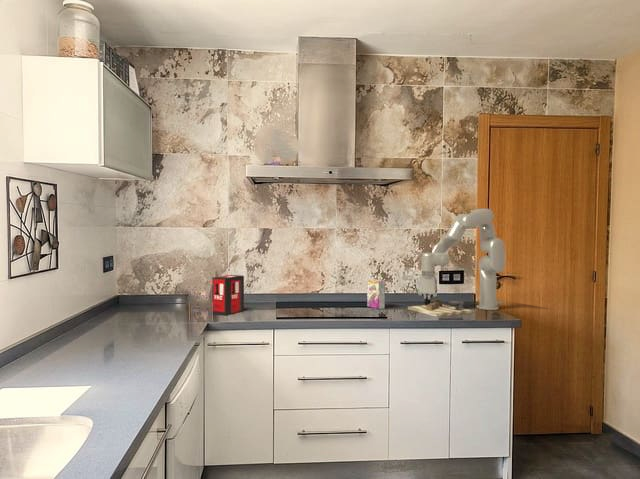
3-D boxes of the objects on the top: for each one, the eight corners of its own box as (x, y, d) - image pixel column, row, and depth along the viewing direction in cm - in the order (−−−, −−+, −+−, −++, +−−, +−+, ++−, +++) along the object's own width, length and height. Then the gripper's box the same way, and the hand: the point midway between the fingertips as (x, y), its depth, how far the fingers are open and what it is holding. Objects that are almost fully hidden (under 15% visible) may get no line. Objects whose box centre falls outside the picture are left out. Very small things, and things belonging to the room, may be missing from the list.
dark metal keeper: (458, 308, 284) (458, 300, 284) (463, 309, 280) (464, 301, 280) (447, 309, 280) (447, 301, 280) (452, 310, 276) (452, 302, 276)
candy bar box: (366, 306, 296) (366, 279, 296) (372, 306, 299) (373, 279, 299) (378, 309, 287) (379, 281, 286) (385, 308, 290) (385, 280, 289)
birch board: (441, 306, 301) (441, 303, 301) (472, 312, 279) (472, 310, 279) (407, 309, 289) (407, 306, 288) (436, 316, 266) (436, 313, 266)
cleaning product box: (225, 315, 262) (225, 278, 261) (212, 314, 266) (212, 277, 265) (243, 311, 277) (243, 275, 276) (230, 309, 280) (230, 274, 280)
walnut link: (435, 304, 297) (435, 298, 297) (443, 305, 294) (443, 298, 294) (424, 309, 279) (424, 302, 279) (433, 310, 277) (433, 303, 276)
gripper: (442, 274, 285) (441, 306, 286) (417, 273, 292) (416, 303, 293) (439, 275, 279) (438, 307, 279) (413, 273, 285) (412, 305, 286)
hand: (427, 305), depth 286 cm, fingers closed
